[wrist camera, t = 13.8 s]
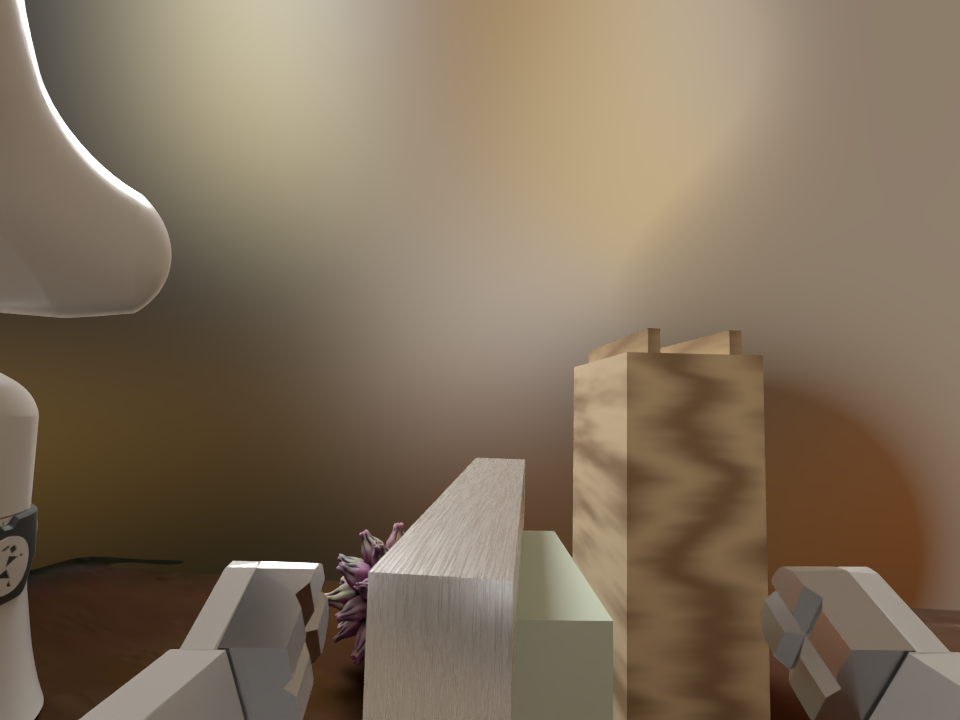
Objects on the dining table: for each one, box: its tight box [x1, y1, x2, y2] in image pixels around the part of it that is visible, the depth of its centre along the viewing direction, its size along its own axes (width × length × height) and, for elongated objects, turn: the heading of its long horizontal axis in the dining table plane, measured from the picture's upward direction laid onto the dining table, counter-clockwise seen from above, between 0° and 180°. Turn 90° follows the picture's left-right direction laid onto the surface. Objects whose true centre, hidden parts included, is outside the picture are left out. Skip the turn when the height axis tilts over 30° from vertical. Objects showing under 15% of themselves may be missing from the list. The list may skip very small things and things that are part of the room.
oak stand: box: [573, 328, 770, 720], centre depth 40 cm, size 9×16×28 cm, turn 2°
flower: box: [325, 523, 404, 665], centre depth 43 cm, size 12×12×12 cm
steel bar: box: [363, 458, 525, 720], centre depth 24 cm, size 4×24×4 cm
